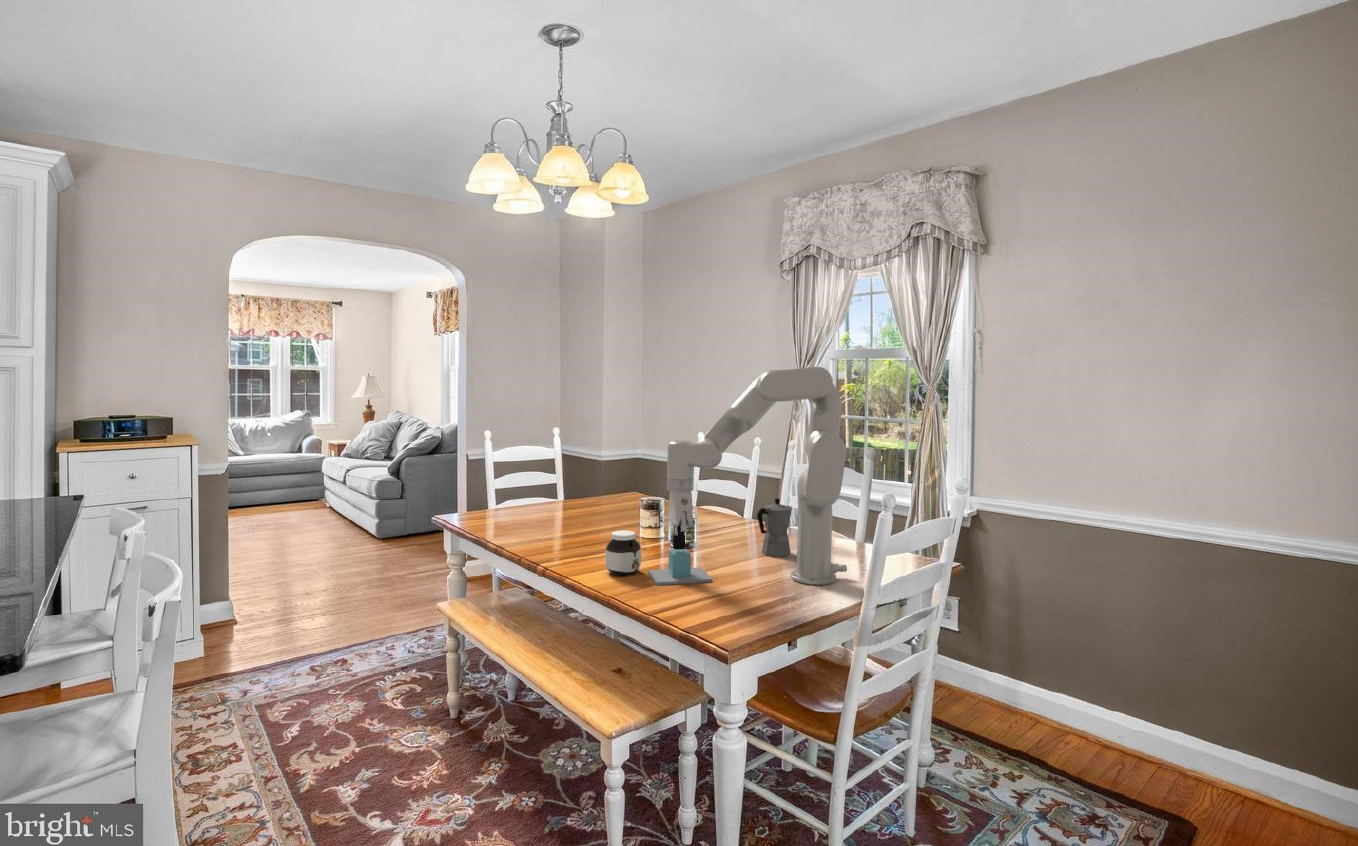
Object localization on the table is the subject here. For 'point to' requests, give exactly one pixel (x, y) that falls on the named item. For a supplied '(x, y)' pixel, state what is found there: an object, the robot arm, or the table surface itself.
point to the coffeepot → (775, 529)
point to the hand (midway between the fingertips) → (678, 548)
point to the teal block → (679, 563)
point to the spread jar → (623, 554)
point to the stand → (665, 578)
